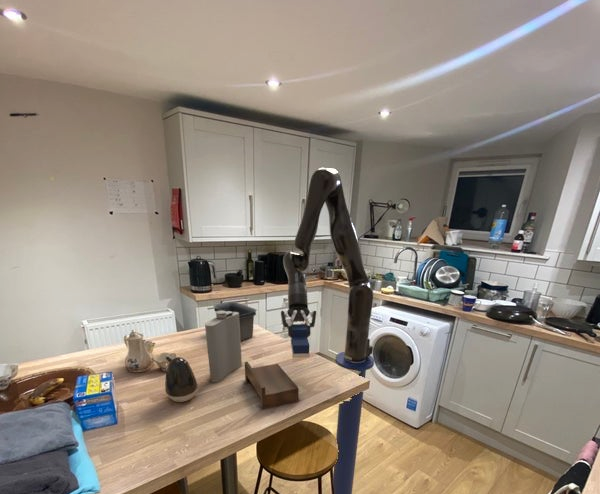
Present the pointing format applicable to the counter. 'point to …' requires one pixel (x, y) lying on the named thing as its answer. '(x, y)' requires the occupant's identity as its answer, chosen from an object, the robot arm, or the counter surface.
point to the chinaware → (143, 354)
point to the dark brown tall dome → (180, 380)
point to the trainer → (299, 341)
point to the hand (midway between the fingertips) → (299, 336)
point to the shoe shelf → (271, 385)
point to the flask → (223, 344)
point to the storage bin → (240, 316)
